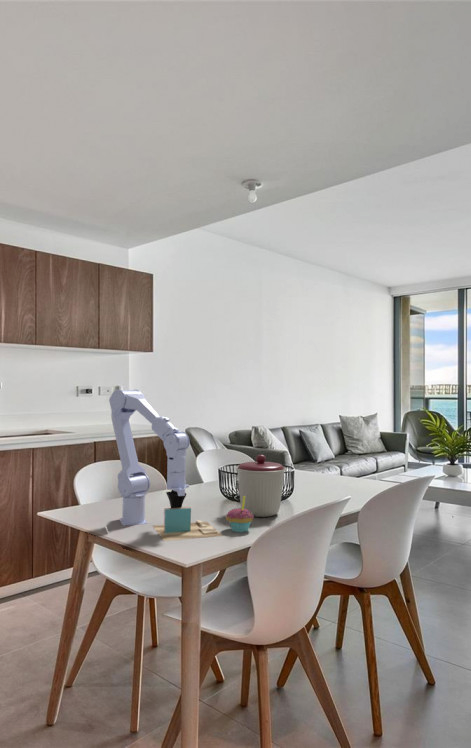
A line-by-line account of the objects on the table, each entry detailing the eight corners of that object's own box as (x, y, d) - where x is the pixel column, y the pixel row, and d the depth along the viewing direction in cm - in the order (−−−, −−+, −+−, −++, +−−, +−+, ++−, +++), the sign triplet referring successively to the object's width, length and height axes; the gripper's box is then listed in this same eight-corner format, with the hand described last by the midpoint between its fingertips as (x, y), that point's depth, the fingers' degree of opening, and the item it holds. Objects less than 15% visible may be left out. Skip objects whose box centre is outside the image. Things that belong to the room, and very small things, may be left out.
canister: (270, 522, 177) (270, 459, 178) (225, 515, 187) (225, 455, 188) (294, 512, 192) (294, 454, 193) (251, 506, 202) (252, 450, 203)
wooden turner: (191, 523, 174) (191, 520, 174) (204, 522, 175) (204, 519, 175) (203, 534, 160) (203, 531, 160) (217, 533, 161) (217, 530, 161)
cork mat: (152, 527, 170) (152, 525, 170) (206, 523, 176) (206, 521, 176) (163, 542, 153) (163, 540, 153) (223, 537, 159) (223, 535, 159)
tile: (163, 531, 163) (164, 508, 163) (189, 529, 166) (189, 506, 166) (164, 532, 161) (165, 509, 161) (190, 530, 164) (191, 508, 164)
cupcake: (258, 531, 166) (259, 492, 167) (241, 536, 160) (241, 496, 160) (238, 526, 172) (238, 489, 172) (220, 531, 166) (220, 492, 166)
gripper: (194, 474, 160) (194, 519, 160) (183, 467, 174) (182, 509, 174) (171, 475, 158) (171, 521, 158) (162, 468, 172) (161, 510, 171)
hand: (175, 515), depth 166 cm, fingers closed
